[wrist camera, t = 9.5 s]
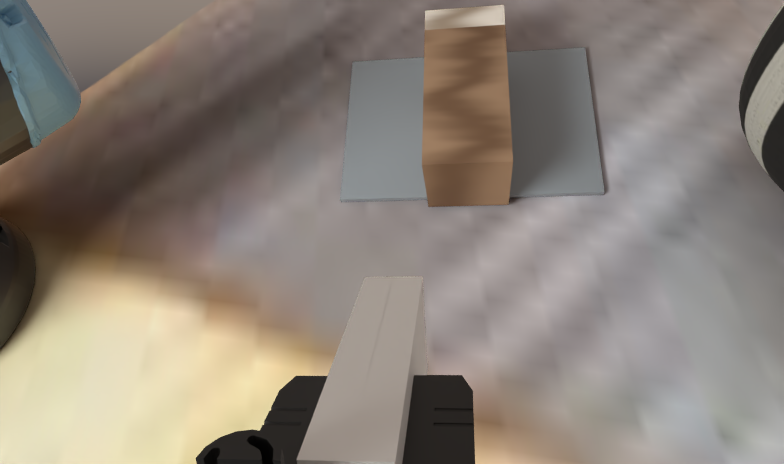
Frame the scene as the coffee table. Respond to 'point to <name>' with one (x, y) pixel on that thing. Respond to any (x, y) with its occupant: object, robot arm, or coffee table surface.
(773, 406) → the coffee table surface
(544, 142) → the mat
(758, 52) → the sunflower seed
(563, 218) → the coffee table surface
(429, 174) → the block
